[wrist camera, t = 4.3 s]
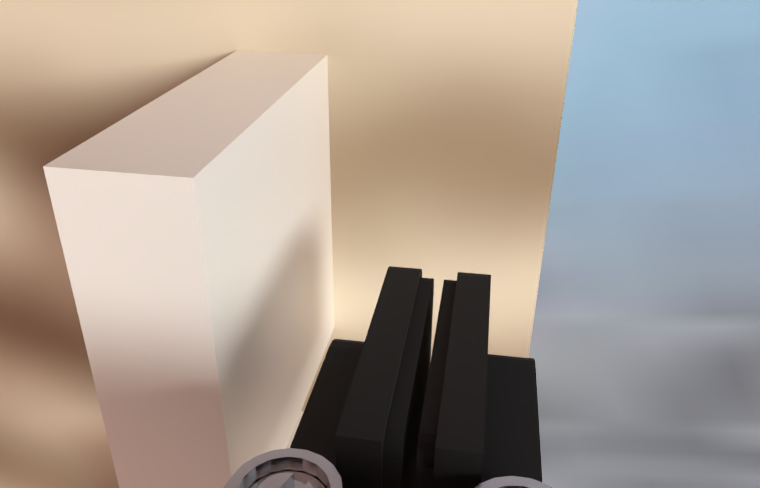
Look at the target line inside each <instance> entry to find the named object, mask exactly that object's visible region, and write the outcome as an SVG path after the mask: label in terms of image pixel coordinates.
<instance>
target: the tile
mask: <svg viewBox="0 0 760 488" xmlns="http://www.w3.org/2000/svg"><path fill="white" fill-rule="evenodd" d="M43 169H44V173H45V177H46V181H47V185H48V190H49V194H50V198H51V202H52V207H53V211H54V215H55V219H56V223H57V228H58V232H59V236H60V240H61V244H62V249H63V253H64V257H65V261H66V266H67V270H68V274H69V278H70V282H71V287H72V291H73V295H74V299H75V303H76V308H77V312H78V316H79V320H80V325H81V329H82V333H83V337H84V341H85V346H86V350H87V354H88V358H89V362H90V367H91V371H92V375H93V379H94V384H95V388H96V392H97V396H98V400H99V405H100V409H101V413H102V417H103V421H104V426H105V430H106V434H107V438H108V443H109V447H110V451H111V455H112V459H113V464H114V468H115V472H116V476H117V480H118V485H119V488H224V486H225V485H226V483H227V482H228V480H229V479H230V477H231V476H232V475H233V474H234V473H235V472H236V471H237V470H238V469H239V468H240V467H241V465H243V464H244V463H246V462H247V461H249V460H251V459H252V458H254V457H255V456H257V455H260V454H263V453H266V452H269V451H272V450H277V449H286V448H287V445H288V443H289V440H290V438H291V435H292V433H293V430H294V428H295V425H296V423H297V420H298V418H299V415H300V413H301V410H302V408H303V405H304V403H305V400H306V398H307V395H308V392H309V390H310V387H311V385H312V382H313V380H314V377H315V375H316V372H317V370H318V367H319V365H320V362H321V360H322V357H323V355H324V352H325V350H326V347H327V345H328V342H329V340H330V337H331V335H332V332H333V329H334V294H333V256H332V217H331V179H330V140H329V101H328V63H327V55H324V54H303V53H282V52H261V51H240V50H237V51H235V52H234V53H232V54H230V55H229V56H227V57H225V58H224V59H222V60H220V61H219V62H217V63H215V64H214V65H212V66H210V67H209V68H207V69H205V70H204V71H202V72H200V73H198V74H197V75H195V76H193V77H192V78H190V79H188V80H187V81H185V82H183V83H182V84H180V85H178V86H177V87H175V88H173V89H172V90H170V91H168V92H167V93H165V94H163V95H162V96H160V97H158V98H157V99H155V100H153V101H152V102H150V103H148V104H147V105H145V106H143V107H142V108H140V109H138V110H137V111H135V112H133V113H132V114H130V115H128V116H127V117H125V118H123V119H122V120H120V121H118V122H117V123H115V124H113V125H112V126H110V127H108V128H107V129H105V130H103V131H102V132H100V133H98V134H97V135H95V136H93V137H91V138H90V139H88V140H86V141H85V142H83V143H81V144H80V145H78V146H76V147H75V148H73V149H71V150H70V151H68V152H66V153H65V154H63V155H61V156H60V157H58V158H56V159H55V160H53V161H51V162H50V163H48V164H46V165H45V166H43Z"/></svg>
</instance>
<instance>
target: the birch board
mask: <svg viewBox="0 0 760 488" xmlns="http://www.w3.org/2000/svg"><path fill="white" fill-rule="evenodd" d="M577 5H578V0H0V488H119V485H118V480H117V476H116V472H115V468H114V464H113V459H112V455H111V451H110V447H109V443H108V438H107V434H106V430H105V426H104V421H103V417H102V413H101V409H100V405H99V400H98V396H97V392H96V388H95V384H94V379H93V375H92V371H91V367H90V362H89V358H88V354H87V350H86V346H85V341H84V337H83V333H82V329H81V325H80V320H79V316H78V312H77V308H76V303H75V299H74V295H73V291H72V287H71V282H70V278H69V274H68V270H67V266H66V261H65V257H64V253H63V249H62V244H61V240H60V236H59V232H58V228H57V223H56V219H55V215H54V211H53V207H52V202H51V198H50V194H49V190H48V185H47V181H46V177H45V173H44V169H43V166H45V165H46V164H48V163H50V162H51V161H53V160H55V159H56V158H58V157H60V156H61V155H63V154H65V153H66V152H68V151H70V150H71V149H73V148H75V147H76V146H78V145H80V144H81V143H83V142H85V141H86V140H88V139H90V138H91V137H93V136H95V135H97V134H98V133H100V132H102V131H103V130H105V129H107V128H108V127H110V126H112V125H113V124H115V123H117V122H118V121H120V120H122V119H123V118H125V117H127V116H128V115H130V114H132V113H133V112H135V111H137V110H138V109H140V108H142V107H143V106H145V105H147V104H148V103H150V102H152V101H153V100H155V99H157V98H158V97H160V96H162V95H163V94H165V93H167V92H168V91H170V90H172V89H173V88H175V87H177V86H178V85H180V84H182V83H183V82H185V81H187V80H188V79H190V78H192V77H193V76H195V75H197V74H198V73H200V72H202V71H204V70H205V69H207V68H209V67H210V66H212V65H214V64H215V63H217V62H219V61H220V60H222V59H224V58H225V57H227V56H229V55H230V54H232V53H234V52H235V51H237V50H240V51H261V52H282V53H303V54H324V55H327V63H328V101H329V140H330V179H331V217H332V256H333V294H334V329H333V332H332V335H331V337H330V340H329V342H328V345H327V347H326V350H325V352H324V355H323V357H322V360H321V362H320V365H319V367H318V370H317V372H316V375H315V377H314V380H313V382H312V385H311V387H310V390H309V392H308V395H307V398H306V400H305V403H304V405H303V408H302V410H301V411H304V410H305V407H306V405H307V402H308V400H309V397H310V394H311V392H312V389H313V387H314V384H315V382H316V379H317V376H318V374H319V371H320V369H321V366H322V364H323V361H324V359H325V356H326V353H327V351H328V348H329V346H330V344H331V342H332V340H334V339H343V340H353V341H363V342H365V339H366V336H367V332H368V329H369V326H370V323H371V320H372V317H373V313H374V310H375V307H376V304H377V301H378V298H379V294H380V291H381V288H382V285H383V282H384V279H385V275H386V272H387V269H388V267H389V266H393V267H405V268H417V269H422V278H433V279H434V295H433V317H432V339H431V356H432V350H433V344H434V338H435V332H436V325H437V319H438V313H439V307H440V301H441V295H442V289H443V282H444V280H456V281H457V274H458V272H465V273H477V274H489V275H491V289H490V313H489V337H488V354H493V355H502V356H512V357H522V358H528V356H529V349H530V342H531V335H532V327H533V320H534V313H535V306H536V299H537V292H538V284H539V277H540V270H541V263H542V256H543V249H544V241H545V234H546V227H547V220H548V213H549V205H550V198H551V191H552V184H553V177H554V170H555V162H556V155H557V148H558V141H559V134H560V127H561V119H562V112H563V105H564V98H565V91H566V84H567V76H568V69H569V62H570V55H571V48H572V41H573V33H574V26H575V19H576V12H577ZM430 362H431V361H430Z"/></svg>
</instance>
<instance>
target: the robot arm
mask: <svg viewBox="0 0 760 488" xmlns="http://www.w3.org/2000/svg"><path fill="white" fill-rule="evenodd" d="M490 289H491V275H489V274H477V273H465V272H458V274H457V281H456V280H444V282H443V289H442V295H441V301H440V307H439V313H438V319H437V325H436V332H435V338H434V344H433V350H432V356H431V339H432V317H433V295H434V279H433V278H422V269H417V268H405V267H393V266H389V267H388V269H387V272H386V275H385V279H384V282H383V285H382V288H381V291H380V294H379V298H378V301H377V304H376V307H375V310H374V313H373V317H372V320H371V323H370V326H369V329H368V332H367V336H366V339H365V342H363V341H353V340H343V339H334V340H332V342H331V344H330V346H329V348H328V351H327V353H326V356H325V359H324V361H323V364H322V366H321V369H320V371H319V374H318V376H317V379H316V382H315V384H314V387H313V389H312V392H311V394H310V397H309V400H308V402H307V405H306V407H305V410H304V412H303V415H302V417H301V420H300V423H299V425H298V428H297V430H296V433H295V435H294V438H293V441H292V443H291V446H290V448H286V449H277V450H272V451H269V452H266V453H263V454H260V455H257V456H255V457H254V458H252V459H251V460H249V461H247V462H246V463H244V464H243V465H241V467H240V468H239V469H238V470H237V471H236V472H235V473H234V474H233V475H232V476H231V477H230V479H229V480H228V482H227V483H226V485H225V486H224V488H553V487H551V486H550V485H548V484H545V483H542V470H541V453H540V436H539V419H538V402H537V385H536V368H535V360H534V359H532V358H522V357H512V356H502V355H493V354H488V337H489V313H490ZM430 361H431V362H430Z"/></svg>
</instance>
